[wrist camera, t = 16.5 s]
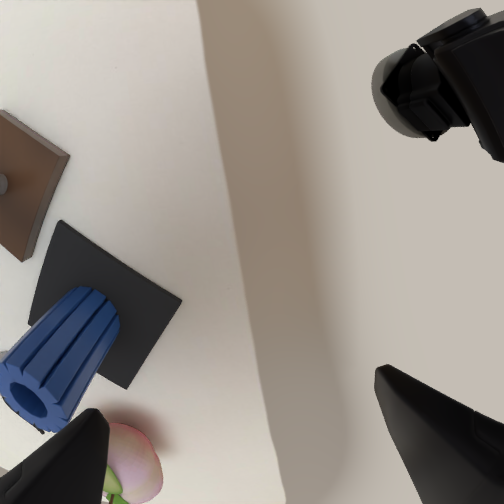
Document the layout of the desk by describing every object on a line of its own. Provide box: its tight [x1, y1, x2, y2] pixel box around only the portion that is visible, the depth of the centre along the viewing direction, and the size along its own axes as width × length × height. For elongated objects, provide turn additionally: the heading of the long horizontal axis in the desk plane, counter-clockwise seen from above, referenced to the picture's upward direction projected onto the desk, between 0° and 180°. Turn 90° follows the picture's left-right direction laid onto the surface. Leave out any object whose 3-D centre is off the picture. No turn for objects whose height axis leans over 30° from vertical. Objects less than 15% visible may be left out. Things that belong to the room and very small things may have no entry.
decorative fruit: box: [102, 423, 163, 504], centre depth 21 cm, size 9×8×10 cm
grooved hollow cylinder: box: [0, 286, 120, 433], centre depth 16 cm, size 5×5×10 cm
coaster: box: [28, 220, 182, 390], centre depth 21 cm, size 11×11×1 cm
